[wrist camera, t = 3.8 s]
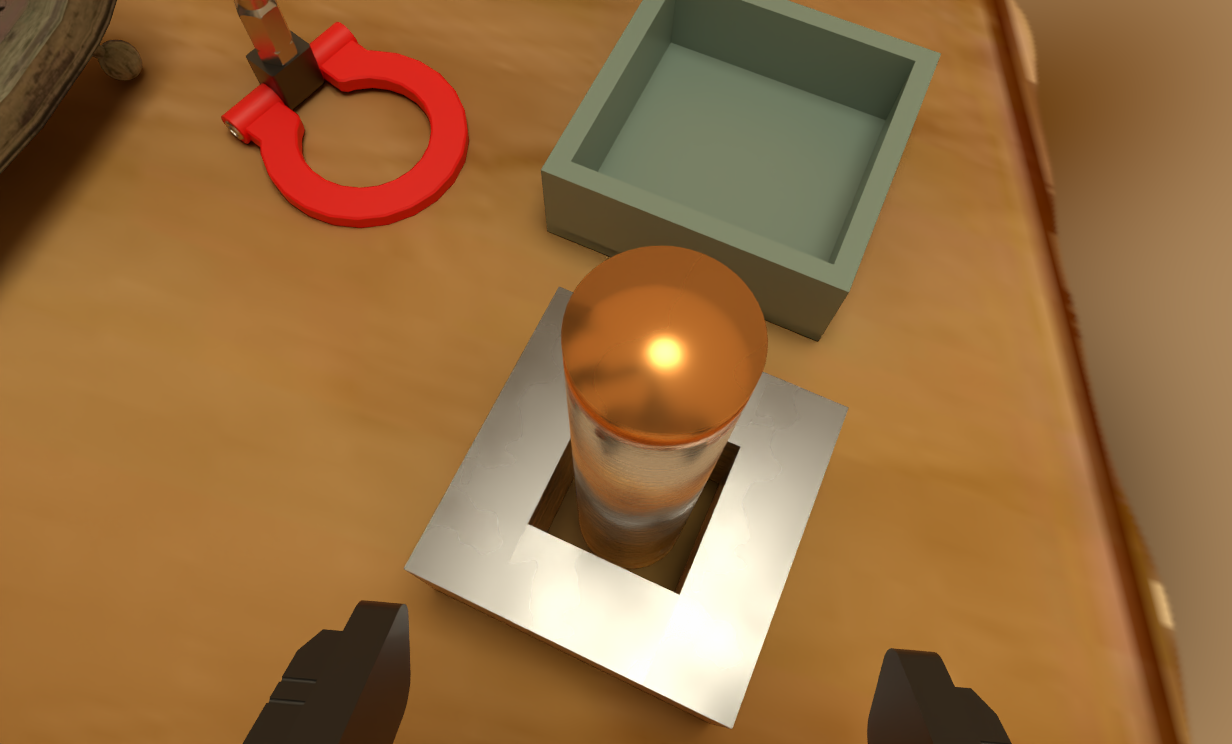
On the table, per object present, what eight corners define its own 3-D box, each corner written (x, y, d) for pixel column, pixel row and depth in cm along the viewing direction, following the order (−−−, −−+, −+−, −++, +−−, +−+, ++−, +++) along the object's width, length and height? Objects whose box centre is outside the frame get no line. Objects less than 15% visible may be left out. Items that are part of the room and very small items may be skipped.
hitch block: (709, 723, 25) (731, 728, 21) (433, 588, 26) (403, 568, 22) (812, 449, 29) (848, 407, 24) (564, 343, 30) (559, 286, 26)
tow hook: (510, 137, 34) (354, 28, 36) (478, -150, 22) (245, -296, 24) (373, 271, 32) (212, 146, 33) (254, 28, 20) (9, -149, 21)
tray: (818, 341, 30) (848, 292, 27) (547, 230, 32) (540, 170, 28) (904, 122, 34) (941, 53, 31) (660, 34, 36) (667, -42, 32)
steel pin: (657, 586, 27) (722, 468, 13) (561, 542, 27) (524, 381, 13) (697, 491, 28) (796, 290, 14) (605, 450, 28) (613, 217, 15)
